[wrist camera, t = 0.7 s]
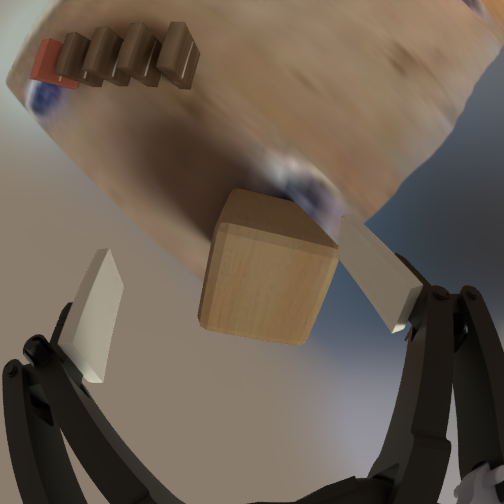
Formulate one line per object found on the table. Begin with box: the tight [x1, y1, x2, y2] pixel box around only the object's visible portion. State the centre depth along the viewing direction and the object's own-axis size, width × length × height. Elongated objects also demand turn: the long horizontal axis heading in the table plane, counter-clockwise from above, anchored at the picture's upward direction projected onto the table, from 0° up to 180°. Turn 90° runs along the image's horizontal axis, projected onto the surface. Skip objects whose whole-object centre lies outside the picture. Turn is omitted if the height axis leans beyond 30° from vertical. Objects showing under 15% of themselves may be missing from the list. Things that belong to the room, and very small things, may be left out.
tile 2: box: [116, 23, 162, 87], centre depth 26 cm, size 2×6×11 cm, turn 168°
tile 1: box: [156, 22, 200, 90], centre depth 26 cm, size 2×6×11 cm, turn 168°
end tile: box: [30, 39, 79, 89], centre depth 24 cm, size 2×6×11 cm, turn 168°
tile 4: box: [54, 32, 103, 87], centre depth 25 cm, size 2×6×11 cm, turn 168°
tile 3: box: [82, 26, 131, 86], centre depth 25 cm, size 2×6×11 cm, turn 168°
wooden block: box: [198, 188, 339, 346], centre depth 30 cm, size 10×10×20 cm
